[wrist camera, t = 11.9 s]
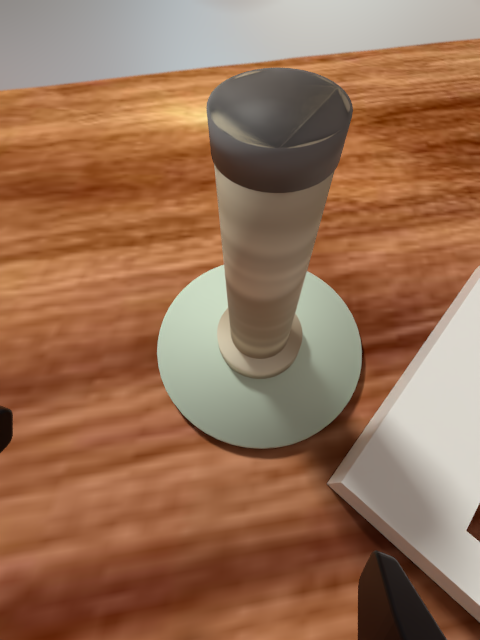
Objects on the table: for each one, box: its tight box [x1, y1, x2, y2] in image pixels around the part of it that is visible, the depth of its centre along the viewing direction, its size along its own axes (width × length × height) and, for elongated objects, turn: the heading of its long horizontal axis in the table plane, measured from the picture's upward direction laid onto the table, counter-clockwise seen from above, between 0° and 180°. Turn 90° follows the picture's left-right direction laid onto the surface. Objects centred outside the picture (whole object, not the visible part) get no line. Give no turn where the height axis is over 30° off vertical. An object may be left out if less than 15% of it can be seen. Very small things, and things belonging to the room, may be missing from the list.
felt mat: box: [157, 265, 362, 449], centre depth 18 cm, size 11×11×1 cm
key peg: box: [207, 68, 353, 379], centre depth 12 cm, size 4×4×12 cm
